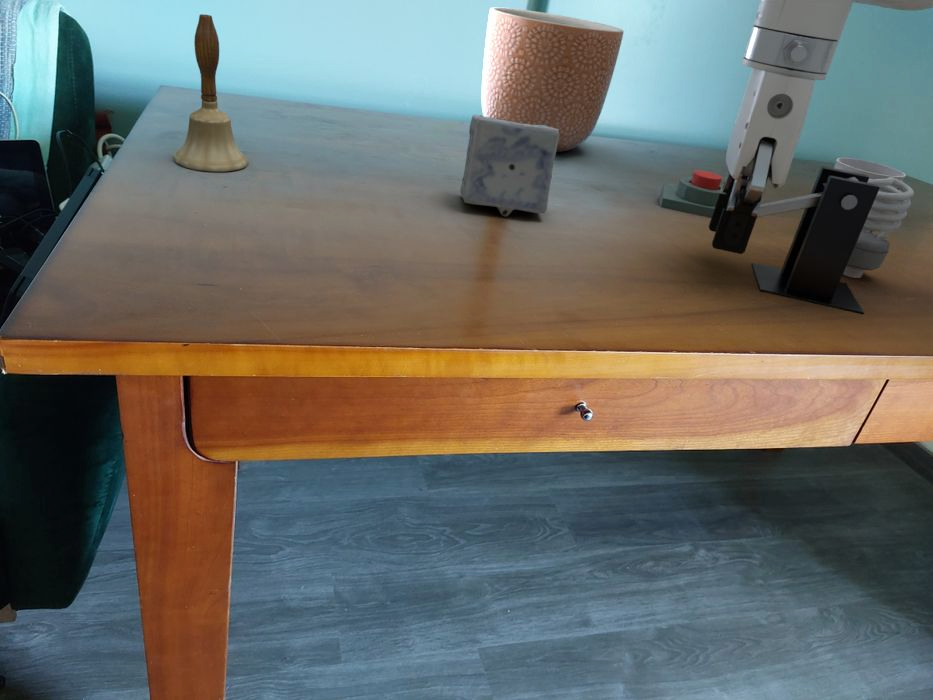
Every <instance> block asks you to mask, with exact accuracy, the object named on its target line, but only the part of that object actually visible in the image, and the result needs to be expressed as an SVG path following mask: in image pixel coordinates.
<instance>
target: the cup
mask: <svg viewBox="0 0 933 700" xmlns="http://www.w3.org/2000/svg"><path fill="white" fill-rule="evenodd" d="M833 168H834V169H839V170H844V171H849V172H854V173H859V174H864V175H867V176H868V177H869V179H887V178H889V177H893V178H896V179H898V180H900V181H902V182H903V183H904V180H905V178H906V176H907V175H906V173H904V172H903V171H901V170H899V169H896V168H894V167H892V166H888V165H884V164H881V163H878V162H874V161H870V160H865V159H859V158H851V157H838V158H836V159H835V164H834V166H833ZM889 186H891V187H893V188H895V189H897V190H899V191H900V189H899V188H897V187H895V186H893V185H889ZM878 192H884V191H881V190H879V191H878ZM885 193H886V192H885ZM874 202H875V203H882V202H879V201H877V200H875V201H874ZM883 204H884V203H883ZM869 213H874V214H880V213H878V212H875V211H873V210H870V212H869ZM865 223H869V224H875V223H873V222H871V221H868V220H866V221H865ZM862 231H866V232H869V233H872V234H874V232H875V231H869V230H862Z"/></svg>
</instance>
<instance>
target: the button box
mask: <svg viewBox="0 0 933 700" xmlns="http://www.w3.org/2000/svg"><path fill="white" fill-rule="evenodd" d="M692 178H693V177H689V176H686V177H680V178H679V181H678V185H675V184H669V183H665V182H663V183H662V186H661V190H660V193H659V197H658V206H659V207H660V208H664V209H668V210H673V211H677V212H683V213H687V214H691V215H696V216H701V217H706V218H710V219H711V218H712V214H713V211H714V208H715V205H716V202H717V199H718V196H719V193H722V187H723V184H722V183H720V186H719V189H718V190H709V189H704V188H700V187H697V186H694V185H692V184H691V181H692ZM723 194H726V193H723Z"/></svg>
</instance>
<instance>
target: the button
mask: <svg viewBox="0 0 933 700" xmlns="http://www.w3.org/2000/svg"><path fill="white" fill-rule="evenodd" d="M691 178H692V181H691V184H692V185H694V186H697V187H700V188H704V189H709V190H718V189H719V186H720V184H722V183H721V182H722V180H723V177H722V175H721V176H720V175H719V174H717V173H714V172H710V171H704V170H694V171H693V175H692V177H691Z"/></svg>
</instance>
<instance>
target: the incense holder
mask: <svg viewBox="0 0 933 700" xmlns="http://www.w3.org/2000/svg"><path fill="white" fill-rule="evenodd" d="M468 132H469V139H468V145H467V149H466V158H465V165H464V171H463V177H462V179H461V185H460V189H459V193H460V195H461V196H462V199H463V201H464V203H465V204H471V205H476V206H478V205H479V206H487V207H493V208H497V210H498V211H499V213H500V215H501V216H502V217H508V216H510V214H511V213H512V212H513V211H514V210H517V211H522V212H527V213H528V212H529V213H534V214H545V213H546V212H547V209H548V204H549V196H550V190H551V183H552V178H553V170H554V165H555V160H556V154H557V152H556V151H557V144H558V140H559V131H558V129H555V128H552V127H548V126H546V125H530V124H522V123H516V122H511V121H506V120H498V119H493V118H487V117H485V116H483V115H480V114H473V115H472V117H471V120H470V124H469V130H468Z"/></svg>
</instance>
